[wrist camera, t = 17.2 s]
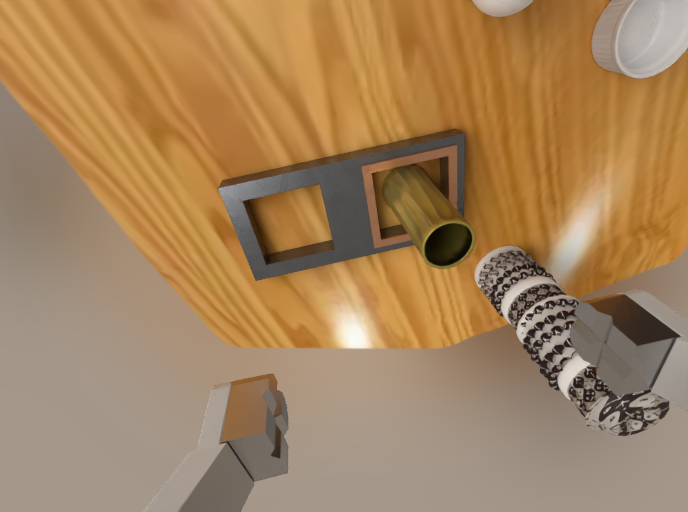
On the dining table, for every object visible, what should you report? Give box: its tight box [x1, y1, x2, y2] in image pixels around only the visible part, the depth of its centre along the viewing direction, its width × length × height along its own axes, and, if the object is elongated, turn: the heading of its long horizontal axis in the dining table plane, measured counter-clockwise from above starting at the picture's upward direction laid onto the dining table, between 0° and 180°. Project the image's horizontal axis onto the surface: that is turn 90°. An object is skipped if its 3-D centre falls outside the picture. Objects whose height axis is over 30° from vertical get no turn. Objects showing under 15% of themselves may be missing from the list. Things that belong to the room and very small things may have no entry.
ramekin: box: [591, 0, 688, 79], centre depth 36 cm, size 9×9×4 cm
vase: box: [382, 165, 476, 269], centre depth 38 cm, size 6×6×14 cm
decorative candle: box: [474, 245, 669, 436], centre depth 42 cm, size 9×9×25 cm
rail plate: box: [218, 129, 465, 281], centre depth 43 cm, size 13×28×3 cm, turn 100°
